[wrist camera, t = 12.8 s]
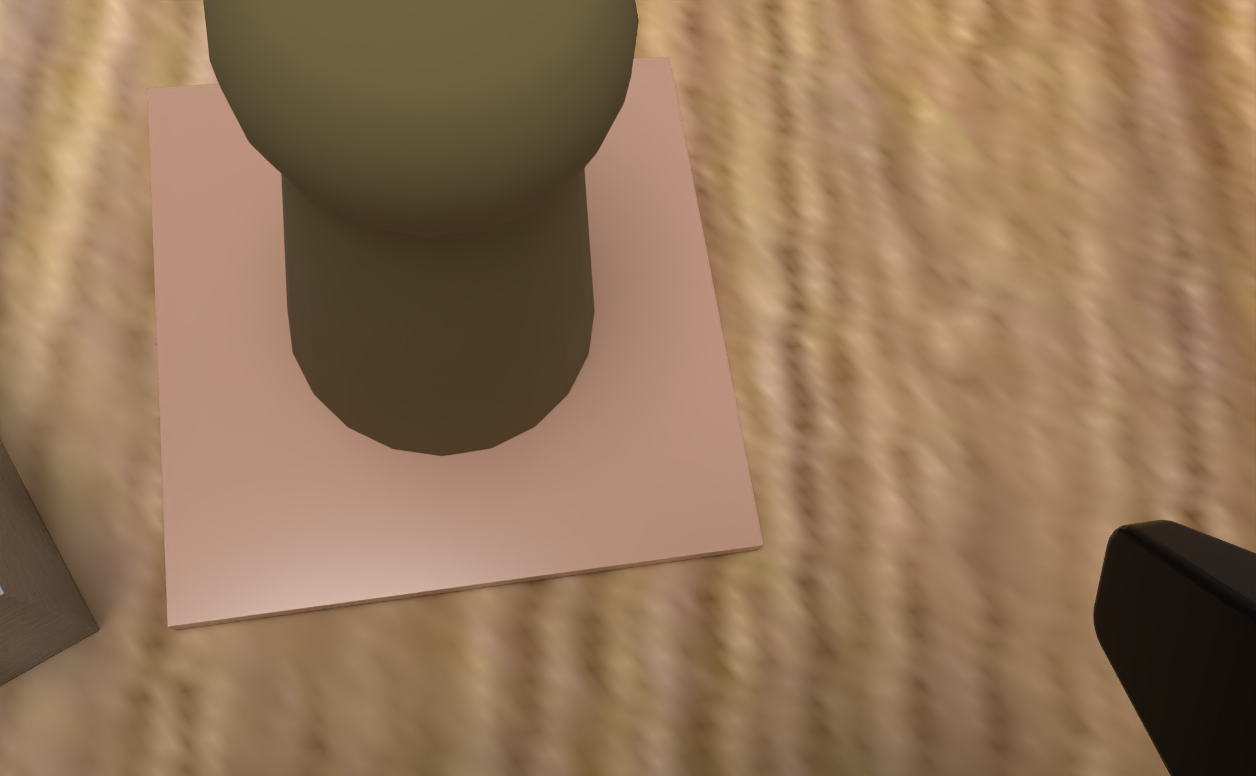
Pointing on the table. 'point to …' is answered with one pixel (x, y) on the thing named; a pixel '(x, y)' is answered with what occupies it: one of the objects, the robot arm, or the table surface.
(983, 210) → the table surface
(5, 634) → the metal collar
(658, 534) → the terracotta tile
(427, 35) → the cork
